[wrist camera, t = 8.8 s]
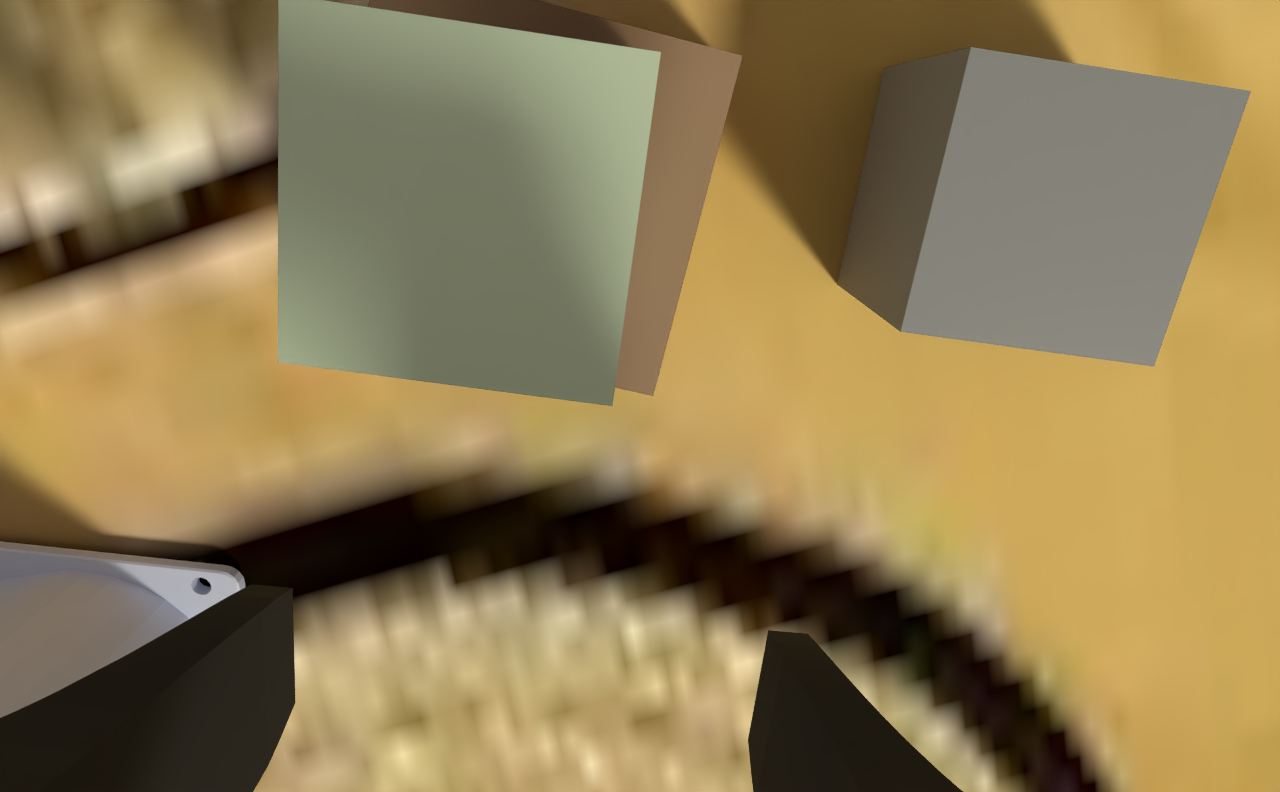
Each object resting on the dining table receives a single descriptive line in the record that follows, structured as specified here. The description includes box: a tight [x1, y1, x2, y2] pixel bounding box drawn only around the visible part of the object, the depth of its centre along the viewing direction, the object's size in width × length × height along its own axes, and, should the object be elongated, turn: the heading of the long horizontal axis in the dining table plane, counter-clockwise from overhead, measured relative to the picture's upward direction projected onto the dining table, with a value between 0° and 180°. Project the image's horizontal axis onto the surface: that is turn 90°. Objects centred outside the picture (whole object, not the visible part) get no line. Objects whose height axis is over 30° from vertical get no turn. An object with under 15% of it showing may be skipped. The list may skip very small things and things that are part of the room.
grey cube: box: [837, 47, 1251, 366], centre depth 17 cm, size 5×5×5 cm
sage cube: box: [278, 0, 661, 406], centre depth 14 cm, size 5×5×5 cm
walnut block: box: [368, 0, 742, 396], centre depth 18 cm, size 7×7×4 cm
